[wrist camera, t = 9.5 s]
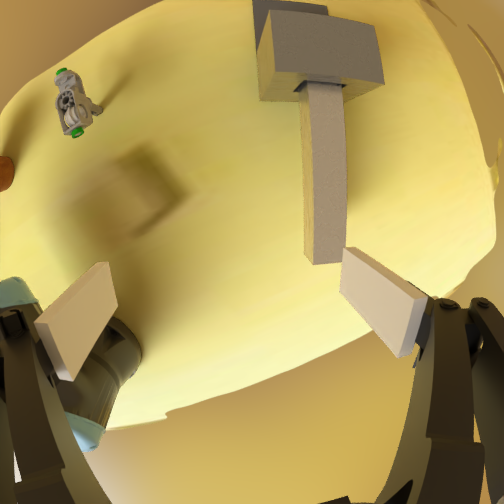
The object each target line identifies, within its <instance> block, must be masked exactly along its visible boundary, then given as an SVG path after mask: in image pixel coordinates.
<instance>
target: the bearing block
mask: <svg viewBox="0 0 504 504" xmlns="http://www.w3.org/2000/svg"><path fill="white" fill-rule="evenodd" d="M257 67H258V82H259V98H260V101H290V102H299V94H298V85H299V84H300V83H301V82H302V81H303V80H309V81H321V82H331V83H339V84H341V87H342V97H343V103H344V102H346V101H348V100H351V99H353V98H355V97H357V96H359V95H362V94H364V93H366V92H368V91H371V90H373V89H375V88H378V87H380V86H382V85H385V83H384V76H383V69H382V63H381V57H380V52H379V47H378V42H377V37H376V33H375V28H374V26H372V25H369V24H365V23H361V22H356V21H352V20H347V19H343V18H337V17H332V16H326V15H320V14H313V13H305V12H295V11H284V10H269V13H268V16H267V19H266V23H265V26H264V29H263V33H262V36H261V40H260V43H259V46H258V50H257Z"/></svg>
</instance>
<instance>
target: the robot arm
mask: <svg viewBox="0 0 504 504" xmlns="http://www.w3.org/2000/svg"><path fill="white" fill-rule="evenodd" d="M339 292H340V293H341V294H342V295H343V296H344V298H345V299H346V300H347V301H348V302H349V303H350V304H351V305H352V306H353V308H354V309H355V310H356V311H357V312H358V313H359V314H360V315H361V317H362V318H363V319H364V320H365V321H366V322H367V323H368V324H369V326H370V327H371V328H372V329H373V330H374V331H375V332H376V333H377V335H378V336H379V337H380V338H381V339H382V341H383V342H384V343H385V344H386V345H387V346H388V347H389V349H390V350H391V351H392V352H393V353H394V354H395V356H396V357H397V358H400V357H403V356H407V355H409V354H411V353H412V350H413V347H414V344H415V342H416V343H417V344H418V345H419V346H420V349H419V352H418V355H417V357H416V360H415V362H414V365H413V368H415V367H416V370H415V376H414V382H413V388H412V393H411V399H410V404H409V408H408V413H407V417H406V421H405V426H404V429H403V433H402V436H401V440H400V444H399V447H398V451H397V454H396V457H395V460H394V463H393V466H392V469H391V471H390V474H389V477H388V479H387V482H386V485H385V486H384V488H383V490H382V491H381V493H380V494H379V496H378V497H377V499H376V501H375V503H350V500H349V498H348V496H345V497H341V498H338V499H335V500H331V501H328V502H324V503H320V504H479V501H480V494H481V488H482V482H483V473H484V463H485V469H486V477H487V484H488V490H489V495H490V499H491V504H504V317H503V316H502V314H501V313H500V312H499V311H498V309H497V308H496V307H495V306H494V304H493V303H491V302H490V301H488V300H487V299H486V298H483V297H481V298H473V299H472V300H471V303H470V307H469V308H468V309H461V307H460V305H459V304H458V303H456V302H455V301H453V300H450V299H445V298H439V299H436V300H434V299H433V298H431V297H430V296H429V295H427V294H426V293H424V292H423V291H421V290H420V289H419V288H417V287H415V285H413V284H412V283H410V282H409V281H406V280H404V279H403V278H401V277H400V276H398V275H397V274H395V273H394V272H393V271H391V270H390V269H388V268H387V267H385V266H384V265H382V264H381V263H379V262H378V261H376V260H375V259H373V258H372V257H370V256H368V255H367V254H365V253H364V252H362V251H361V250H359V249H358V248H356V247H344V248H343V258H342V270H341V280H340V289H339ZM117 307H118V303H117V299H116V294H115V290H114V286H113V281H112V276H111V271H110V266H109V261H108V262H97V263H96V264H94V265H93V266H92V267H91V268H90V269H89V270H88V271H86V272H85V273H84V274H83V275H82V276H81V277H80V278H79V279H78V280H76V281H75V282H74V283H73V284H72V285H71V286H70V287H69V288H68V289H67V290H66V291H65V292H64V293H63V294H61V295H60V296H59V297H58V298H57V299H56V300H55V301H54V302H53V303H52V304H51V305H50V306H49V307H48V308H47V309H46V310H45V311H44V312H43V310H42V309H41V307H40V305H39V301H38V300H37V299H36V298H35V297H34V295H33V294H32V292H31V290H30V289H29V287H28V286H27V284H26V282H25V281H24V280H23V279H22V278H20V277H10V278H8V279H5V280H3V281H1V282H0V504H17V502H18V504H112V503H111V501H110V500H109V498H108V497H107V495H106V494H105V492H104V491H103V489H102V488H101V486H100V484H99V482H98V481H97V479H96V477H95V476H94V474H93V472H92V470H91V469H90V467H89V465H88V463H87V461H86V459H85V457H84V455H83V453H82V452H89V451H93V450H95V449H96V448H97V447H98V445H99V443H100V440H101V438H102V436H103V434H104V433H105V429H106V426H107V422H108V419H109V417H110V414H111V411H112V408H113V405H114V402H115V399H116V397H117V394H118V391H119V389H120V387H121V386H122V385H123V384H124V383H125V382H126V381H127V380H128V379H129V378H131V377H132V376H133V375H134V374H135V372H136V371H137V369H138V366H139V363H140V360H141V349H140V346H139V343H138V341H137V339H136V338H135V336H134V335H133V333H132V332H131V331H130V330H129V329H128V328H127V327H126V326H125V325H124V324H123V323H122V322H120V321H119V320H118V319H116V318H114V317H113V316H112V315H113V313H114V312H115V310H116V309H117ZM482 342H483V346H482V349H481V348H480V346H481V344H482ZM474 415H475V418H476V423H477V427H478V431H479V435H480V440H481V443H477V442H474V439H473V435H474ZM14 452H15V456H16V460H17V464H18V468H19V471H20V475H21V479H22V481H21V482H17V483H15V475H14Z"/></svg>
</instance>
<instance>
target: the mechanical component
mask: <svg viewBox="0 0 504 504" xmlns="http://www.w3.org/2000/svg"><path fill="white" fill-rule="evenodd" d="M56 75H57V76H56V77H55V79H54V81H55V85H56V86H58V87H59V91H60V94H59V95H58V96H57V99H56V103H55V106H56V109H57V110H58V114H59V118H60V121H61V125H62V129H63V132H64V135H72V138H77V137H79V136H81V135H82V134H83V133H84V131H83V129H85V128H86V127H88V126H89V125H91V124H92V123H93V119H92V115H95V116H98V114H101V113H102V112H103V109H102V107H100V106H98V105H95V104H93V103H92V101H91V99H90V98H88V97H86V95H85V91H84V88H83V84H82V80H81V78H80V76H79V75H78V74H77V73H75V72H73V71H71V70H67V68H62V69H60V70H58V71H57V73H56ZM64 115H65V120H66V122H67V124H68V125H69V126H70V128H69V127H68V126H67V125H66V123H65V121H64Z"/></svg>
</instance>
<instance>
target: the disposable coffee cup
mask: <svg viewBox="0 0 504 504" xmlns="http://www.w3.org/2000/svg"><path fill="white" fill-rule="evenodd" d="M13 177H14V166H13V163H12V161H11V159H10V158H9V157H3V156H0V192H2V191H4V190H7V189H8V188H9V187H10V185H11V184H12V181H13Z"/></svg>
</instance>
